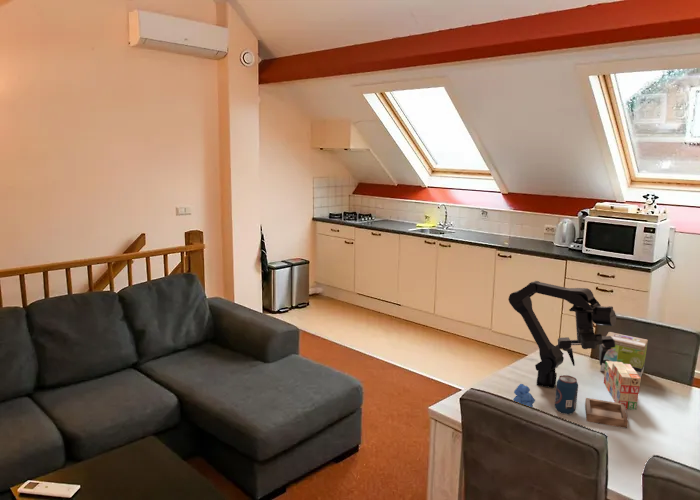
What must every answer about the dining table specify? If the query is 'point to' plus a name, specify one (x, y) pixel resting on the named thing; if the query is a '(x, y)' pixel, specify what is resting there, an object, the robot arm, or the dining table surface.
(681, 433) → the dining table surface
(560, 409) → the soda can
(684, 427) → the dining table surface
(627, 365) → the stack of blocks
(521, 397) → the grapes
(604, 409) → the brown open box
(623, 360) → the tea box
